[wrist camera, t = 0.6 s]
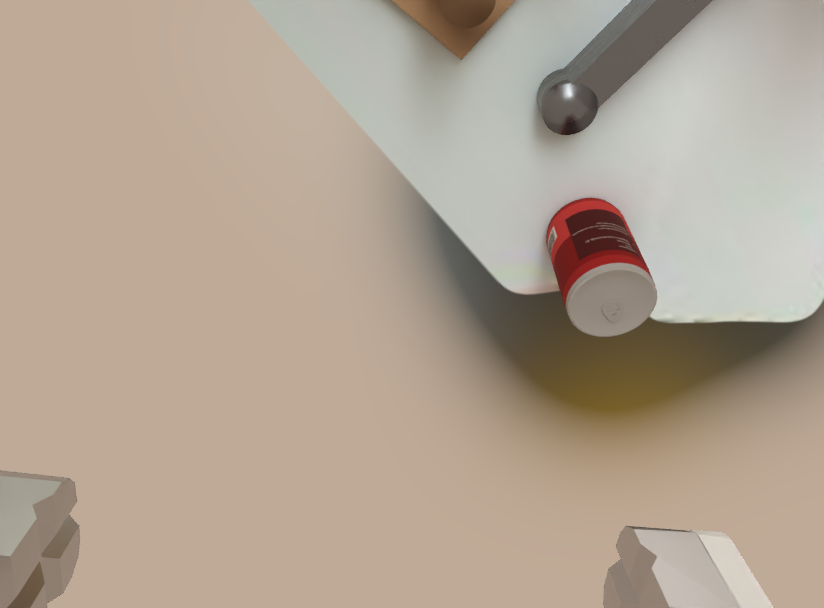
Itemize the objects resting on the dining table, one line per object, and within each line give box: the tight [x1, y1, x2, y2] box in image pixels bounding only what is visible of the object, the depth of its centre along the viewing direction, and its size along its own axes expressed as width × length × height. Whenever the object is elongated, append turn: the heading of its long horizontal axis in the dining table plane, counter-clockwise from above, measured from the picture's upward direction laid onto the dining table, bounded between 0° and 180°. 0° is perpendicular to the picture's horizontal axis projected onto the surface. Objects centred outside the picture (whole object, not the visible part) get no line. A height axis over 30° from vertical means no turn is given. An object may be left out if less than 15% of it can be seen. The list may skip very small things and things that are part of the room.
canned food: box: [547, 198, 657, 337], centre depth 63 cm, size 8×8×11 cm
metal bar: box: [537, 0, 712, 135], centre depth 53 cm, size 20×4×3 cm, turn 140°
